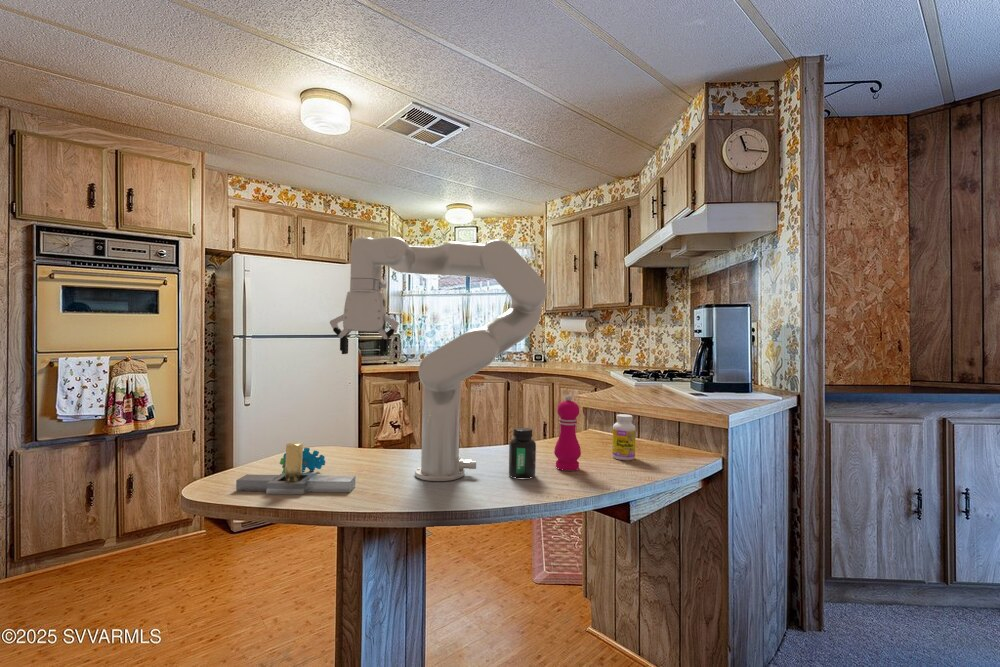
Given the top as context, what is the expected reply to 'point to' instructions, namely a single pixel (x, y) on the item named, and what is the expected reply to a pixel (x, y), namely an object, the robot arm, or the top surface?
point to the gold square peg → (293, 462)
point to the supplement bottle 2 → (624, 438)
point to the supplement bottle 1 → (522, 454)
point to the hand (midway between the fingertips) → (363, 354)
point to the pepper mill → (567, 436)
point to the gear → (307, 460)
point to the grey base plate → (295, 484)
